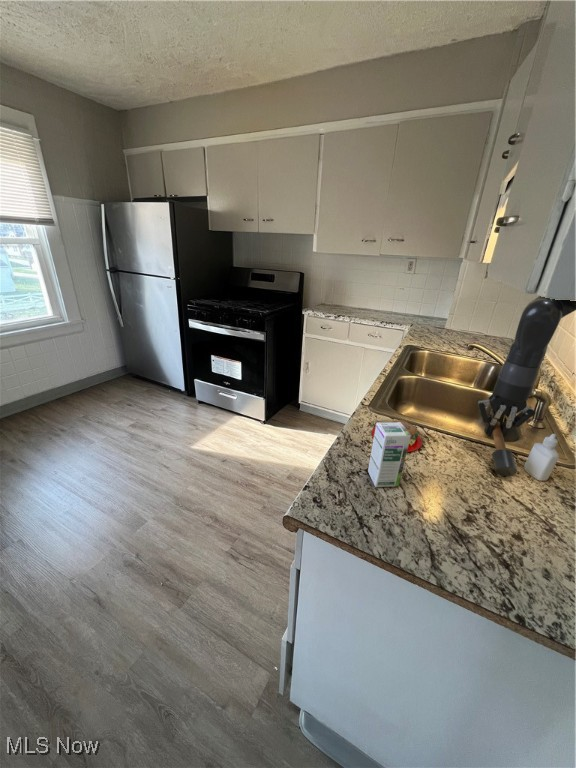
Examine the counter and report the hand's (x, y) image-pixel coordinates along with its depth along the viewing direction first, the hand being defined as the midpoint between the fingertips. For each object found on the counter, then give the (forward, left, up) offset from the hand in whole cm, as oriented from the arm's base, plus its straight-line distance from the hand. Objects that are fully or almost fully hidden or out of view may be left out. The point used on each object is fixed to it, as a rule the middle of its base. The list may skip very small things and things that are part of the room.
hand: (493, 435), depth 86 cm
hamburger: (+25, +2, -5) cm, 26 cm away
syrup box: (+29, +21, -5) cm, 36 cm away
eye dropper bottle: (-8, +8, -5) cm, 12 cm away
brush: (0, +12, -2) cm, 12 cm away
